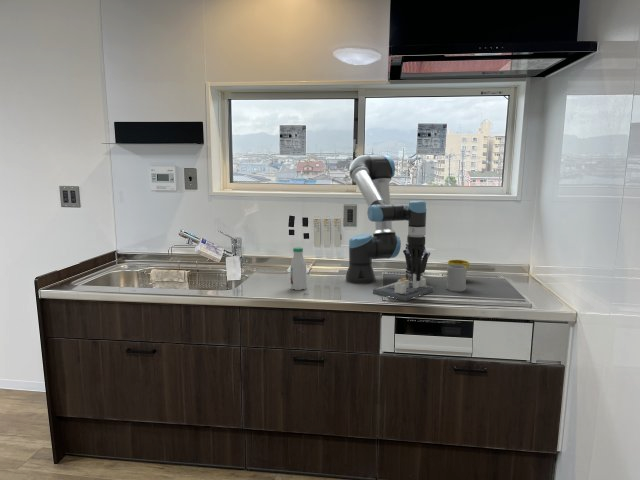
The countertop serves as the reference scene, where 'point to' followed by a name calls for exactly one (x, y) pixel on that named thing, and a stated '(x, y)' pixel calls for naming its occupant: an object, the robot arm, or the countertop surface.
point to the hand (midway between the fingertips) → (415, 287)
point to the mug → (456, 278)
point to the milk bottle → (298, 270)
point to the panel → (410, 293)
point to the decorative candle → (408, 275)
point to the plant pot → (459, 263)
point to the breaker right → (422, 282)
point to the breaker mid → (406, 282)
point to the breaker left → (400, 288)
